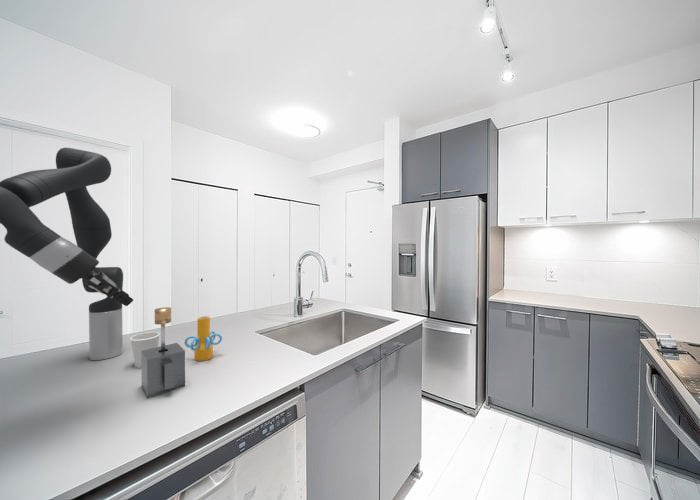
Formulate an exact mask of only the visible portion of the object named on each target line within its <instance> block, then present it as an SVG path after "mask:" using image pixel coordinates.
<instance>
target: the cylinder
mask: <svg viewBox="0 0 700 500" xmlns="http://www.w3.org/2000/svg"><path fill="white" fill-rule="evenodd" d="M196 319H197V322H196V323H197V325H196V326H197V328H196V329H197V333H196V335H197V336H195V335H190V336H187V337H186V338H185V340H184V345H185V346H186V348H190V350H191V351H193V352H194V356H193V357H194V361H196V362H204V361H207V360H210V359H212V358H213V355H214V346H217V345H219V344H221V342H222V340H223V337H222V335H221V334H220V333H216V332H215V331H214V330H211V323H210V320H211V318H210V316H208V315H207V316H206V315H205V316H198V317H197V318H196ZM216 336H217V337H218V338H219V340H218V341H217V342H214V341H215V339H216ZM190 339H192V340H191V342H190V344H188V341H189V340H190Z"/></svg>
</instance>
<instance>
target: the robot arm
mask: <svg viewBox="0 0 700 500" xmlns="http://www.w3.org/2000/svg"><path fill="white" fill-rule="evenodd" d="M55 166H56V168H52V169H51V168H50V169H49V168H47V169H39V170H37V169H35V170H29V171H27V172H23V173H19V174H15V175H13V176H11V177H7V178H4V179H3V180H1V181H0V225H2V226H3V227H4V228H5V230H6V234H5V235H4V239H3V240H4V242H5V243H6V244H7V245H9V247H11V248H13V249H15V250H16V251H17V252H19V253H20V254H22V255H24V256H25V257H27V258H29V259H30V260H31V261H33V262H34V263H36V264H37V265H38V266H40V267H41V268H43V270H44V269H45V270H46V271H48V272H50V273H51V274H53V276H56V277H58V278H59V279H61V280H62V281H63V282H65V283H67V284H69V285H70V284H71V285H72V284H75V283H76V282H78V281H79V280H80V279H81V281H82V282H81V283H82V287H83V288H84V290H85V292H87V293H100V294H102V295H105V296H106V297H105V298H102V299H99V300H96V301H94V302H92V303H90V304H89V305H88V336H89V337H88V339H89V340H88V343H89V347H88V350H89V351H88V352H89V358H88V359H89V361H90V360H91V361H101V360H108V359H111V358H115V357H118V356H120V355H121V354H122V353H123V351H124V350H123V341H124V339H123V306H125V307H128V306H129V305H130V304H132V303H133V301H134V299H133V297H131V296H130V294H129V293H127V292H126V291H124V290H123V289H124V288H123V287H124V286H123V285H124V271H123V269H122V268H121V267H119V266H105V267H100V266H99V267H97V266H98V265H99V264H100V261H99V260H98V257H99V255H100V254H101V253H102V251H103V250H104V248H105V247H106V246H107V245H108V244H109V243H110V241H111V239H112V236H113V235H112V227H111V221H110V218H109V216H108V214H107V213H106V211H105V210H104V209H103V208H102V207H101V206H100V204H98V202H96V200H94V199H95V198H93V197H92V196H91V194H90V192H89V190H88V189H87V187H89V186H92V185H97V184H101V183H105V182H106V181H107V180H108V179H109V178H110V176H111V174H112V166H111V163H110V160H109V158H107V157H106V156H105V155H103V154H99V153H97V152H94V151H88V150H84V149H77V148H73V147H72V148H71V147H62V148H60V149H59V150H58V151H57V153H56V155H55ZM61 194H65V197H66V200H67V205H68V209H69V213H70V218H71V225H72V229H73V234H74V238H75V241H76V244H75V243H73V242H72V241H71V240H69V239H66V238H64V237H63V236H61V235H60V234H59V233H57V232H55V231H54V229H51V228H50V227H48V226H46V225H45V224H44V223H43V222H42V221H41V220H40V219H39V218H38V216H37V215H36V214H35V212H33V211H32V210H31V209H30V208H32V207H35V206H36V205H38V204H41V203H43V202H46V201H49V200H50V199H52V198H54V197H56V196H58V195H61Z"/></svg>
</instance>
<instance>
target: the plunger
mask: <svg viewBox="0 0 700 500" xmlns="http://www.w3.org/2000/svg"><path fill="white" fill-rule="evenodd" d="M170 323H172V307H170V306H169V307H167V306H166V307H165V306H164V307H159V308H155V309H154V324H155V325H160V346H161V352H165V345H166V325H167V324H170Z"/></svg>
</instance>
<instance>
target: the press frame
mask: <svg viewBox="0 0 700 500" xmlns="http://www.w3.org/2000/svg"><path fill="white" fill-rule="evenodd" d="M141 362H142V367H141V388H142V390H143V392H144V394H145V396H146V398H147V400H148V399H150V398H153V397H156V396H159V395H162V394H165V393H168V392H172V391H174V390H179V389H181V388H184V387H186V350H185V349H184V348H183V347H182V346H181V345H180V344H178V342H175V343H169V344H165V352H161V345H159V346H158V347H156V348H151V349H147V350H142V351H141Z"/></svg>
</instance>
